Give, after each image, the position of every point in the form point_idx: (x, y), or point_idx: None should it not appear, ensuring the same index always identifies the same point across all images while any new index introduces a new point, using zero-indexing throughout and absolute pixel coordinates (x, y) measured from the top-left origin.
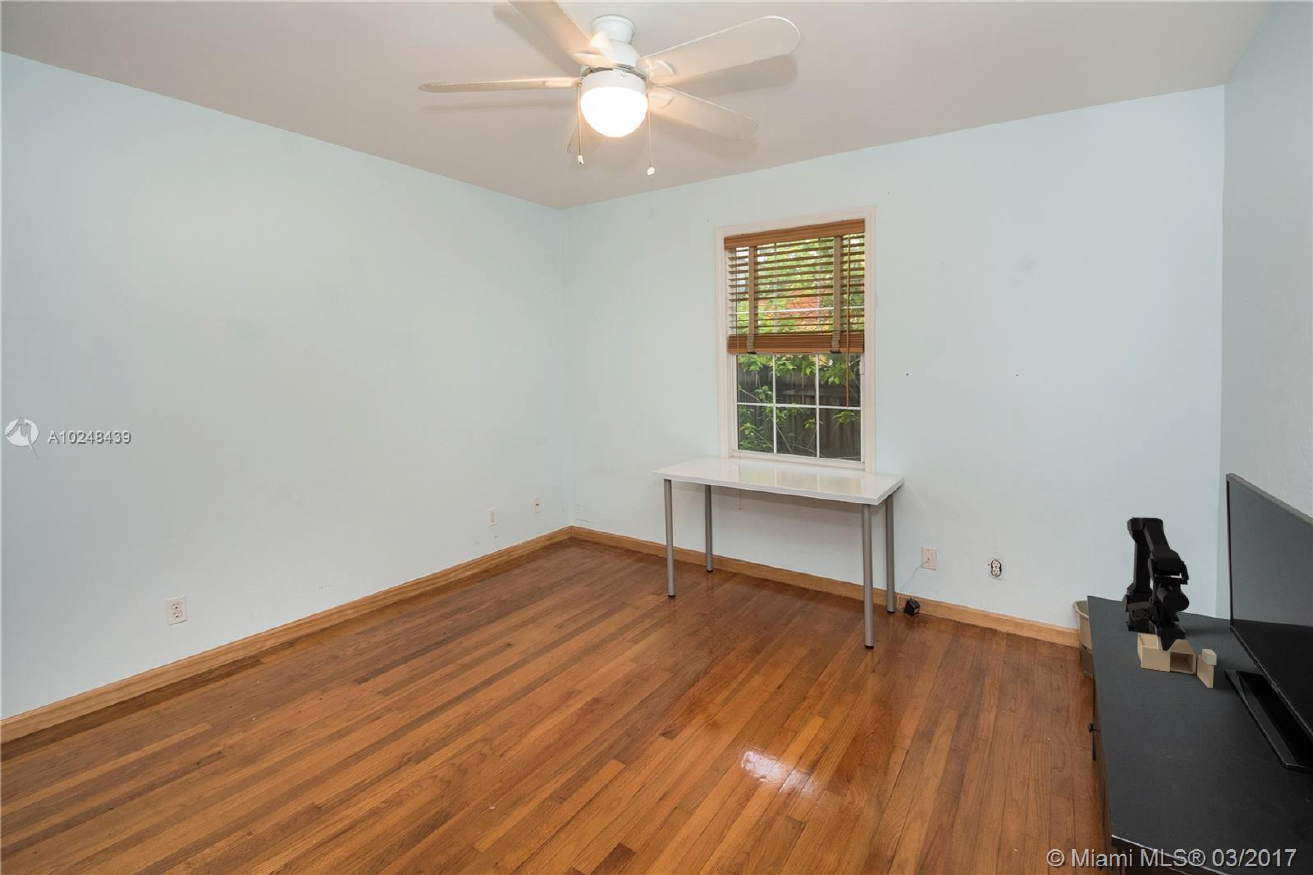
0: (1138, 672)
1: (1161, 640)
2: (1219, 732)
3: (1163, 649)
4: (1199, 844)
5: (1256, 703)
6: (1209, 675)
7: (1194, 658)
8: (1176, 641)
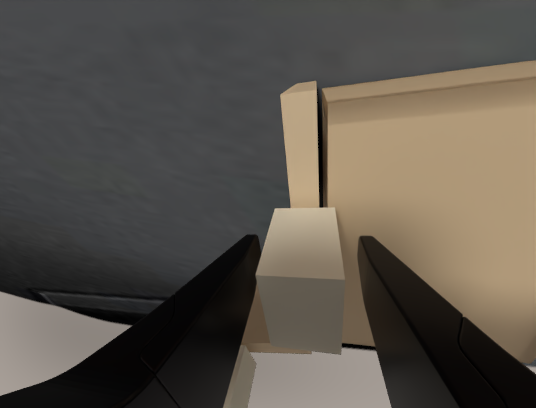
0: (250, 66)
1: (161, 304)
2: (43, 238)
3: (241, 242)
4: None
5: None
6: None
7: None
8: (480, 313)
